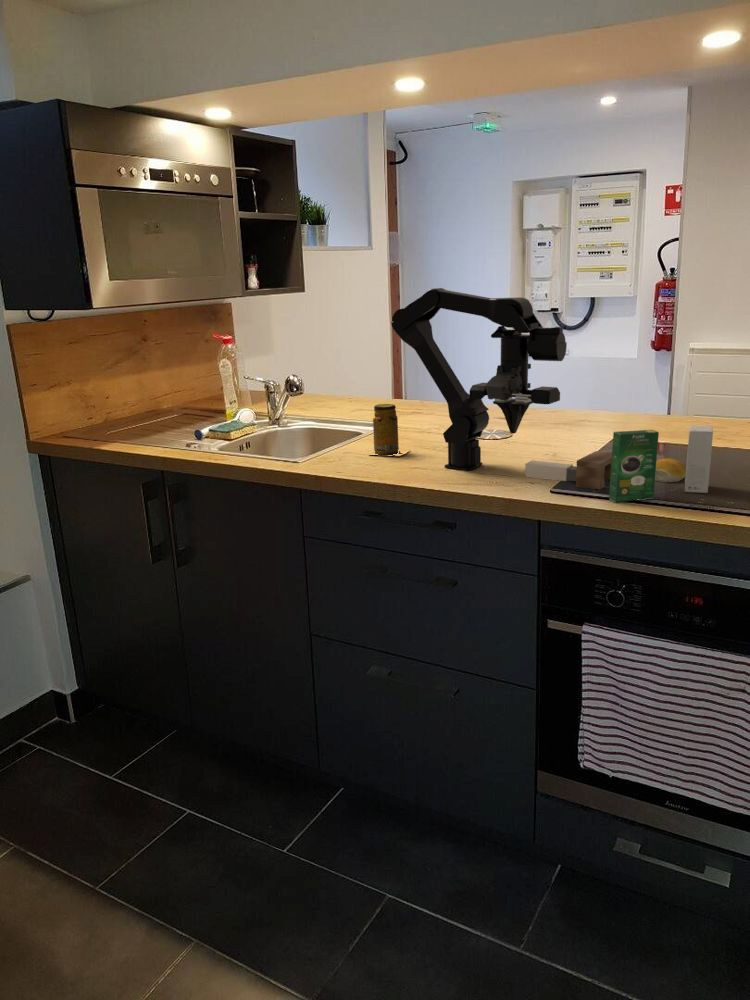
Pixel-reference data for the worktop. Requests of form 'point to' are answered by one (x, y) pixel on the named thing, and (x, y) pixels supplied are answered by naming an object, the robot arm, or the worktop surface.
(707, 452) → the skincare box
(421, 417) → the worktop surface
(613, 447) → the coffee box
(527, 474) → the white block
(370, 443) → the worktop surface
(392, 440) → the condiment
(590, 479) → the wooden block
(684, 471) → the bread roll
